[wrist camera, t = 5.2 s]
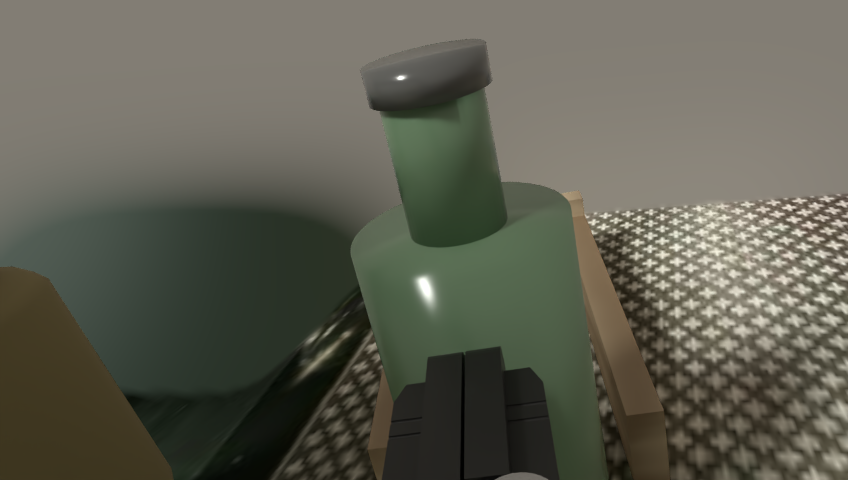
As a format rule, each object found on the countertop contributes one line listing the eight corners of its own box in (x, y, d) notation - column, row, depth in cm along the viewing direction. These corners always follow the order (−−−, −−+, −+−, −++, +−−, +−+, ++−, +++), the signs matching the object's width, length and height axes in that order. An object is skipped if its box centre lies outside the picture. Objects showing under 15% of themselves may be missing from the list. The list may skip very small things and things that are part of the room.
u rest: (387, 513, 25) (360, 427, 23) (418, 282, 41) (404, 221, 39) (670, 480, 23) (661, 385, 22) (587, 254, 39) (579, 190, 38)
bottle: (444, 662, 19) (274, 110, 13) (449, 513, 24) (327, 59, 18) (640, 646, 18) (562, 50, 12) (604, 495, 23) (534, 14, 17)
